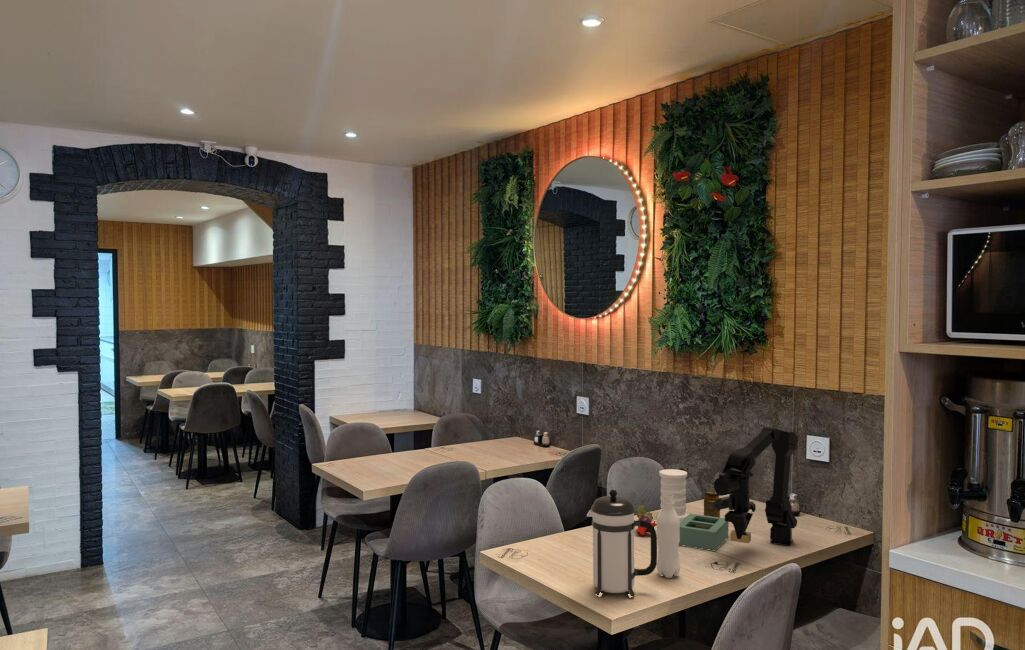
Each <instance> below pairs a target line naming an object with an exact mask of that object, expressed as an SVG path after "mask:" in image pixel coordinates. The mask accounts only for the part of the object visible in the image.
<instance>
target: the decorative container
mask: <svg viewBox="0 0 1025 650" xmlns="http://www.w3.org/2000/svg"><path fill="white" fill-rule="evenodd" d="M659 477H660V480H659V483H660V488H659V491H660V496H659V498H660V501H661V502H660V506H659V507H660V508H661V509H662V507H663V503H662V502H663V495H664V494H670V495H673V502H674V504H673V506H674V509H675V511H676V513H677V515H678V517H679V520H683V519H684V518H686V517H687V516H688V515H689V514H688V513H687V504H686V503H687V496H686V495H687V489H686V487H687V480H686V478H687V477H688V472H687V471H686V470H681V469H676V468H675V469H674V468H672V469H670V468H668V469H667V468H666V469H661V470H659ZM661 509H660V510H661ZM659 513H660V511H658V514H659Z"/></svg>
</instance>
